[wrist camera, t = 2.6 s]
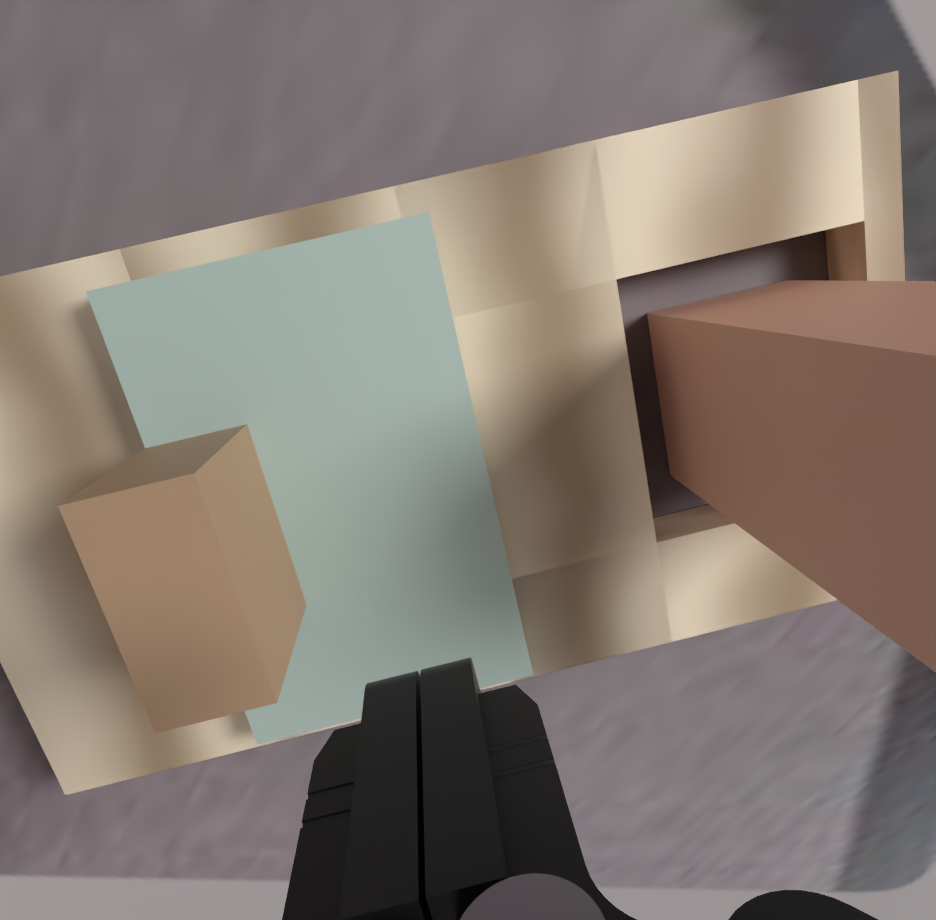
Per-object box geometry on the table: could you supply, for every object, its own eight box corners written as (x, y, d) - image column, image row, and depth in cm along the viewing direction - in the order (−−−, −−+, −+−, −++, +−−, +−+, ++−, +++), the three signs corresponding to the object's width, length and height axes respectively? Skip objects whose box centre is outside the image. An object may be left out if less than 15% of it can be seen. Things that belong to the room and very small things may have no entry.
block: (670, 475, 24) (997, 718, 11) (646, 313, 23) (1000, 365, 9) (799, 443, 25) (1279, 645, 11) (786, 280, 23) (1333, 283, 9)
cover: (263, 724, 23) (216, 875, 17) (101, 290, 19) (-33, 296, 13) (527, 658, 23) (568, 783, 17) (427, 215, 19) (437, 188, 13)
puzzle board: (91, 755, 25) (65, 795, 23) (-117, 311, 20) (-171, 315, 19) (877, 557, 26) (914, 580, 24) (853, 89, 21) (898, 70, 19)
